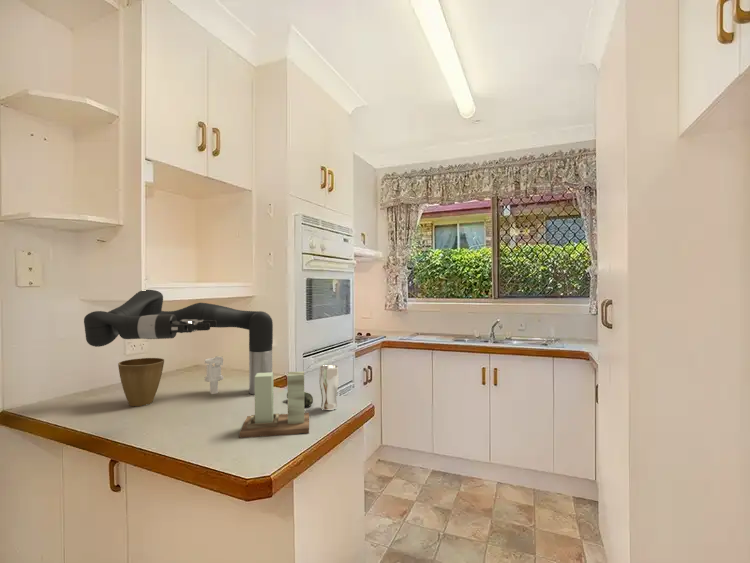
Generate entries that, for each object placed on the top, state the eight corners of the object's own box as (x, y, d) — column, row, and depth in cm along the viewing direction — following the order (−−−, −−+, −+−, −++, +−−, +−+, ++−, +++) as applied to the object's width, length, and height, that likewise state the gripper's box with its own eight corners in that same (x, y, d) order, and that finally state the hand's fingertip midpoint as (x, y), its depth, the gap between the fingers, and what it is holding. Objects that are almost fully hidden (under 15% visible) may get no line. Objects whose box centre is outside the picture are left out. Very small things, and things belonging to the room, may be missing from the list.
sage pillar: (257, 419, 123) (257, 372, 123) (273, 419, 123) (273, 372, 124) (254, 425, 118) (254, 376, 118) (271, 424, 119) (271, 376, 119)
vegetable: (284, 401, 148) (284, 388, 148) (295, 398, 151) (295, 385, 151) (304, 409, 138) (304, 395, 138) (316, 406, 141) (316, 392, 141)
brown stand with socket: (247, 420, 126) (247, 370, 126) (309, 417, 129) (309, 368, 129) (239, 437, 112) (239, 381, 112) (308, 433, 116) (308, 378, 116)
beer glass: (320, 412, 134) (320, 369, 134) (318, 406, 141) (318, 365, 141) (340, 410, 136) (340, 368, 136) (337, 404, 143) (336, 364, 143)
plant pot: (126, 413, 134) (126, 367, 134) (112, 404, 144) (112, 361, 144) (170, 402, 146) (170, 360, 146) (155, 395, 155) (155, 355, 155)
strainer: (218, 395, 155) (218, 358, 155) (201, 395, 155) (201, 358, 155) (225, 390, 162) (225, 354, 162) (209, 390, 162) (209, 354, 162)
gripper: (148, 316, 113) (207, 315, 116) (166, 312, 127) (218, 311, 130) (149, 342, 113) (207, 340, 116) (166, 335, 127) (218, 333, 130)
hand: (213, 325), depth 123 cm, fingers open, 8 cm apart
